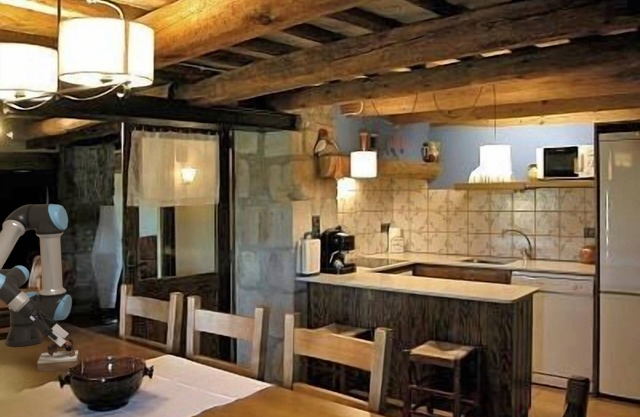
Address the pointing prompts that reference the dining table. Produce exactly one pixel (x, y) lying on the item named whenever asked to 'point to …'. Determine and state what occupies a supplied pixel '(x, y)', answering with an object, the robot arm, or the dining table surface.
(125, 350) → the dining table surface
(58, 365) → the pale flat block
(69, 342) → the brown black arched figure
